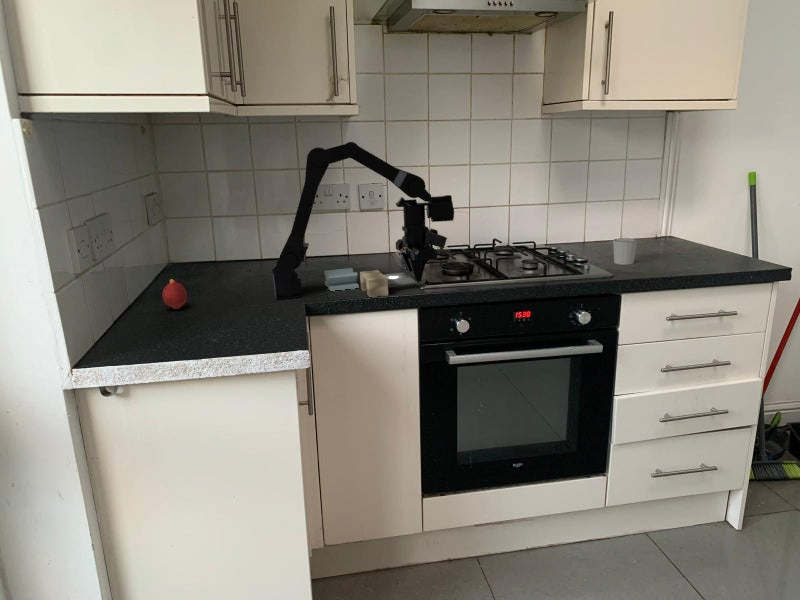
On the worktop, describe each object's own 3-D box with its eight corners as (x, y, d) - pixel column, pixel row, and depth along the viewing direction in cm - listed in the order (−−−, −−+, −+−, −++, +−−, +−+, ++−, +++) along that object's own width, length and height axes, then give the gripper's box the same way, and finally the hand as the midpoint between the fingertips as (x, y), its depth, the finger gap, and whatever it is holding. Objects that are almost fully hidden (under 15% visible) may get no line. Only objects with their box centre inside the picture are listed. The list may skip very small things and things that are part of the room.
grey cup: (613, 265, 176) (615, 241, 175) (610, 260, 183) (611, 237, 181) (638, 264, 175) (639, 241, 173) (633, 260, 182) (635, 237, 180)
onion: (175, 305, 153) (171, 275, 151) (193, 307, 151) (189, 276, 149) (159, 312, 148) (154, 281, 146) (177, 313, 146) (173, 282, 144)
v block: (330, 291, 160) (329, 276, 159) (324, 284, 169) (323, 269, 168) (358, 288, 162) (357, 273, 161) (352, 281, 171) (351, 266, 170)
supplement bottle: (416, 270, 182) (414, 233, 178) (423, 273, 176) (422, 236, 173) (397, 272, 180) (396, 235, 176) (405, 276, 174) (403, 238, 171)
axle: (386, 288, 157) (386, 275, 156) (383, 286, 160) (382, 273, 159) (426, 284, 160) (425, 271, 159) (422, 281, 163) (421, 269, 162)
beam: (369, 297, 153) (368, 280, 151) (360, 288, 162) (359, 271, 161) (388, 295, 154) (387, 278, 153) (378, 286, 164) (377, 270, 162)
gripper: (455, 225, 150) (456, 284, 154) (431, 216, 167) (433, 270, 171) (414, 228, 147) (416, 289, 151) (394, 219, 164) (396, 274, 168)
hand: (416, 280), depth 161 cm, fingers closed on axle, 3 cm apart
